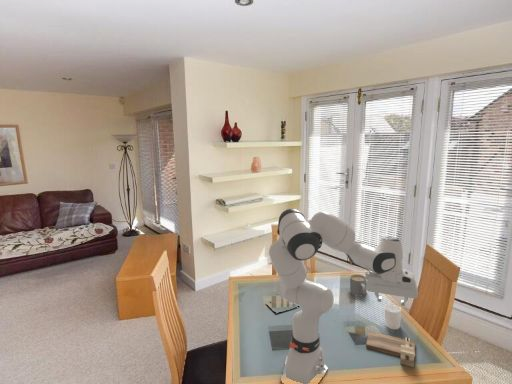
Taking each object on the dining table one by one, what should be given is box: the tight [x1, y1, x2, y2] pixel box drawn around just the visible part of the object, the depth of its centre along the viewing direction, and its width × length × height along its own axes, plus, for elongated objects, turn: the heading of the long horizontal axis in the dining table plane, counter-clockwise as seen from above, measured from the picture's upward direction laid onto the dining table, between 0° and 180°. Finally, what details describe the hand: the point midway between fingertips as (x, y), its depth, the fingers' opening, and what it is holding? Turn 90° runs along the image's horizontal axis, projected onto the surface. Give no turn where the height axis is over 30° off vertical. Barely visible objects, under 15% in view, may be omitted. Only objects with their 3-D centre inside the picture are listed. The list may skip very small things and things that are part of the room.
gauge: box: [400, 337, 415, 368], centre depth 128 cm, size 16×5×6 cm, turn 152°
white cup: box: [383, 304, 402, 330], centre depth 149 cm, size 8×8×10 cm
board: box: [365, 330, 416, 361], centre depth 134 cm, size 11×20×2 cm, turn 62°
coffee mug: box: [349, 273, 368, 297], centre depth 184 cm, size 13×10×10 cm
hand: (391, 303), depth 126 cm, fingers open, 8 cm apart
